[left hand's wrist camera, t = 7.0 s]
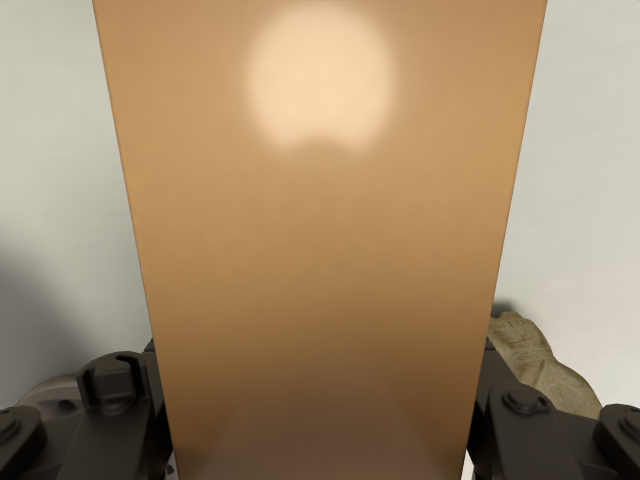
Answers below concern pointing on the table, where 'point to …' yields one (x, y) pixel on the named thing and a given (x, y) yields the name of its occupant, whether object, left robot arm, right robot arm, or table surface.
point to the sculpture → (541, 365)
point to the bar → (319, 221)
